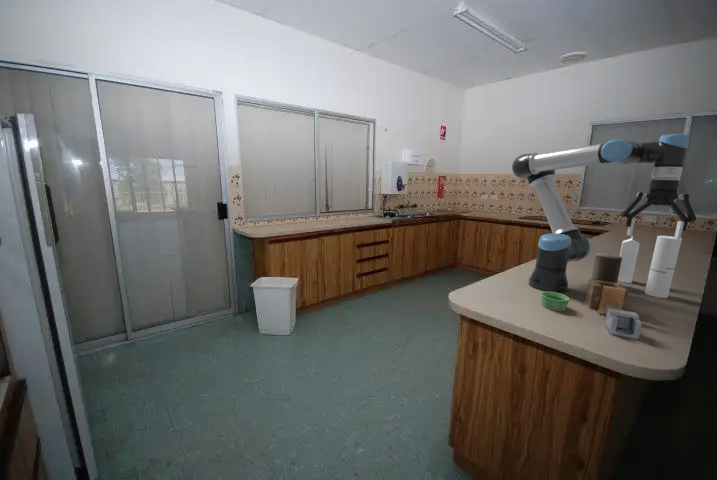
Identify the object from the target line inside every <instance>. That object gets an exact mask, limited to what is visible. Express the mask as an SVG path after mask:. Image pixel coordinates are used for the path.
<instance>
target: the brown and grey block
mask: <svg viewBox="0 0 717 480" xmlns="http://www.w3.org/2000/svg"><path fill="white" fill-rule="evenodd" d="M625 291H626V290H625V289H623V288H616V287H609V286H603V288H602V293H601V295H600V300H599V308H598V310H597V313H598V314H599V315H600V314H602V315H605V316H607V311H608V308H611V309H617V310H623V309H622V305H623V300H624V296H625ZM623 311H625V309H624V310H623ZM615 316H616V315H615ZM616 317H617V318H618V321H617V326H616V327H619V328H624V329H628V328H629V324H630V318H628V317H622V316H616Z"/></svg>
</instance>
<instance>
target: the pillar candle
mask: <svg viewBox="0 0 717 480" xmlns="http://www.w3.org/2000/svg"><path fill="white" fill-rule="evenodd" d="M593 262H594V263H593V267H592V272H591V276H590V280H597V281H605V282H612V283H618V282H619V281H618V276H619V271H620V266H621V262H622V257H621V256H620V255H616V254H610V252H608V253H602V252H598V253H597V252H596V253H595V257H594V261H593Z"/></svg>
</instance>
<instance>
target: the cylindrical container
mask: <svg viewBox="0 0 717 480" xmlns="http://www.w3.org/2000/svg"><path fill="white" fill-rule="evenodd" d="M682 240H683V238H682V237H681V238H680V240H676V239H674V236H670V235H668V236H667V235H657V237H656V241H655V245H654V250H653V253H652V259H651V264H650V268H649V272H648V277H647V280H646V281H647V282H646V285H645V289H644V294H646V295H648V296H651V297H655V298H663V299H667V298H668V297H669V293H670V290H671V284H672V282H673V281H672V280H673V276H674V272H675V270H676V269H675V268H676V266H677V260H678V256H679V252H680V249H681V244H682Z"/></svg>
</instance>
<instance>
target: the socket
mask: <svg viewBox="0 0 717 480" xmlns="http://www.w3.org/2000/svg"><path fill="white" fill-rule="evenodd" d="M603 286H609V287H616V288H623V289H625V290H626V291H625V296H624V300H623V305H622V309H623V310H624V311H625V306H626V303H627V297H628V293H629V290H628V289H627V288H626V287H625V286H624V285H623V284H622V283H619V282H617V283H612V282H605V281H597V280H591V278H589V280H588V283H587V289H586V294H585V298H584V299H585V301H584V302H585V303H586V305H587V306H588V309H591V310H592V309H593V310H597V311H598V308H599V300H600V295H601V293H602V288H603Z"/></svg>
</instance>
